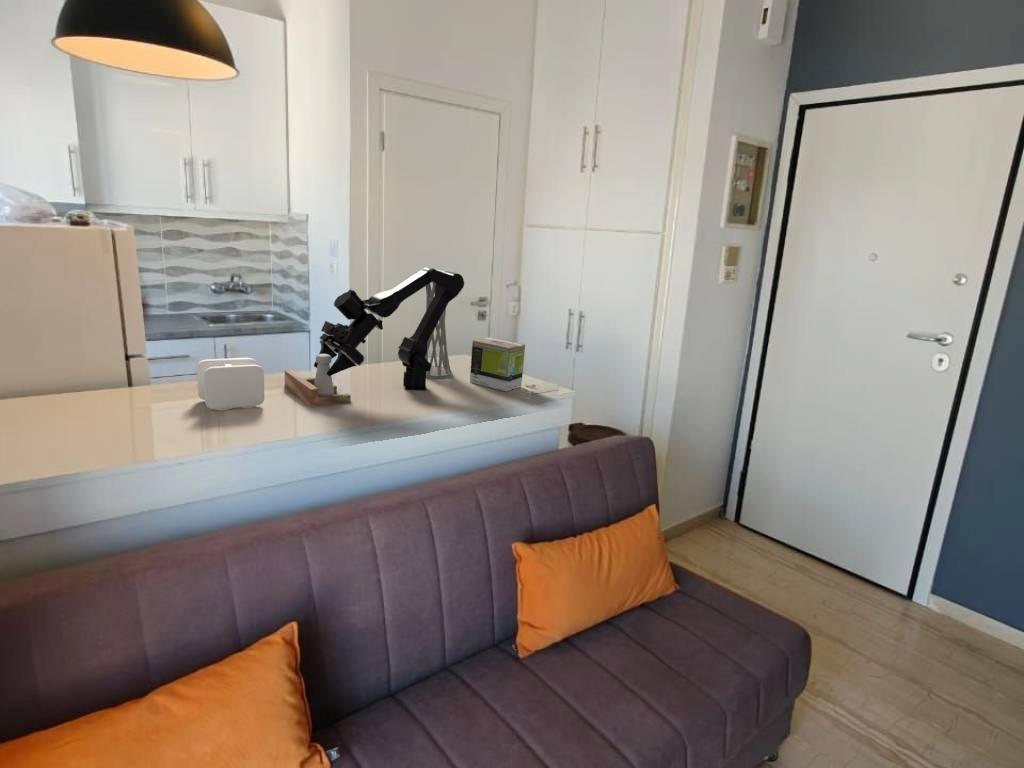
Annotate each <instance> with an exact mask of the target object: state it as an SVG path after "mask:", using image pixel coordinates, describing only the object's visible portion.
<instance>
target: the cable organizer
mask: <svg viewBox="0 0 1024 768" xmlns="http://www.w3.org/2000/svg"><path fill="white" fill-rule="evenodd" d="M196 382H197V384H196V386H197V396H198V397H199V399H201V400H203V401H204V402H205V405H206V407H207V408H208V409H211V410H215V411H217V410H219V411H226V410H230V409H235V408H242V409H253V408H252V407H254V408H257V407H258V406H260V405H262V404H263V403H265V402H264V401H265V370H264V369H263V368H262V366H260V365H258V362H257V361H256V360H255V359H254V358H251V357H233V358H232V357H231V358H210V359H209V358H208V359H202V360H199V361H198V362H197V363H196Z"/></svg>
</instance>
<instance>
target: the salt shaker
mask: <svg viewBox="0 0 1024 768" xmlns="http://www.w3.org/2000/svg"><path fill="white" fill-rule="evenodd" d="M332 359H333V358H331V356H330V355H328V354H319V353H318V354H317V355H316V356H315V361H316V363H318V366H317V368H316V371H315V372H316V373H315V376H314V377H315V382H314V386H315V387H316V388H318V397H325V396H334V395H333V394H335V393H334V388H333V385H334V384H333V378H332V376H333V375H331V376H328V375H327V372H328V370H329V369H330V367H331V365H330V364H332V361H333V360H332Z"/></svg>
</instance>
